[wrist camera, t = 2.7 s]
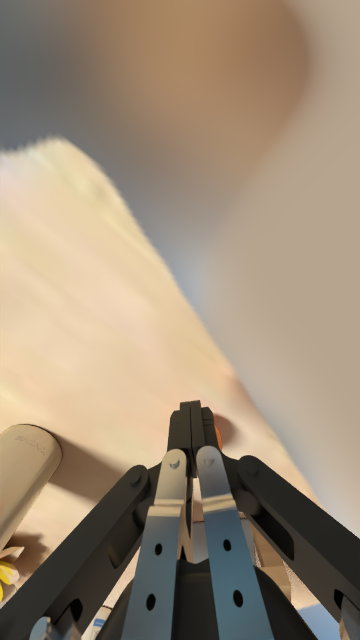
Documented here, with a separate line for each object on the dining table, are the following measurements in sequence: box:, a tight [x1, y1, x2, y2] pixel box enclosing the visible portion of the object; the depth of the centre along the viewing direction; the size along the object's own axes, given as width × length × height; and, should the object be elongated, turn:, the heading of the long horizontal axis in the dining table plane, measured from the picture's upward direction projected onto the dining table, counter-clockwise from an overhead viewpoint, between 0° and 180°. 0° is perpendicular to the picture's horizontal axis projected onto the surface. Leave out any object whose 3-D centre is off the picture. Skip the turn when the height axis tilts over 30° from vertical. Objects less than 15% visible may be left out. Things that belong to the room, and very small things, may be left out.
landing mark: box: [192, 518, 256, 566], centre depth 30 cm, size 13×13×1 cm
